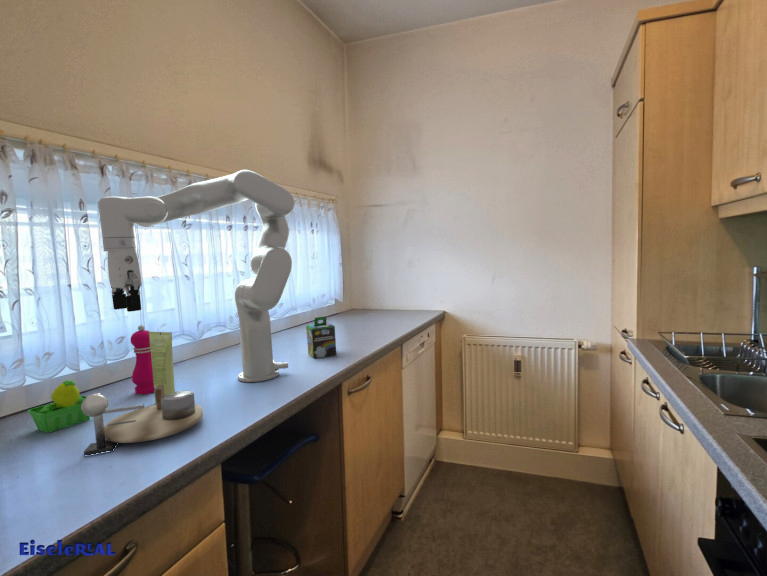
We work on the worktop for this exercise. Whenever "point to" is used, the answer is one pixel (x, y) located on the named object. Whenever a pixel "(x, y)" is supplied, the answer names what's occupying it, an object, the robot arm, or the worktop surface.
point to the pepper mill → (142, 362)
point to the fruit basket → (60, 409)
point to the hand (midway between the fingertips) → (127, 309)
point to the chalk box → (321, 339)
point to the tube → (162, 360)
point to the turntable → (148, 423)
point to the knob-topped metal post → (100, 421)
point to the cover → (178, 405)
